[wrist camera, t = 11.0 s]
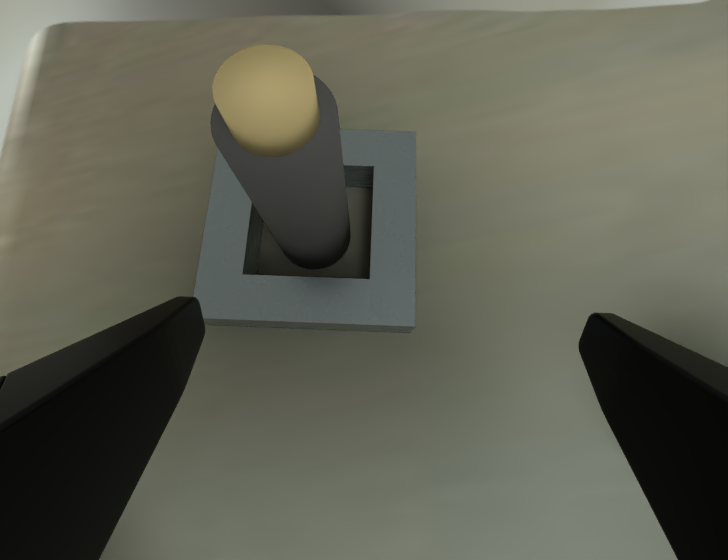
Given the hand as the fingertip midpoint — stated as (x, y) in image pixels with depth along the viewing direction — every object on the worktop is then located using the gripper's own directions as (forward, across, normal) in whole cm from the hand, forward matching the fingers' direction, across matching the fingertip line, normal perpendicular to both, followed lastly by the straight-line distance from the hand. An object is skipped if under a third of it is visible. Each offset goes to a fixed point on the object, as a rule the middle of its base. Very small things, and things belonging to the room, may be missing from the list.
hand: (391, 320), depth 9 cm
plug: (+15, +4, +4) cm, 16 cm away
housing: (+15, +4, +4) cm, 16 cm away
